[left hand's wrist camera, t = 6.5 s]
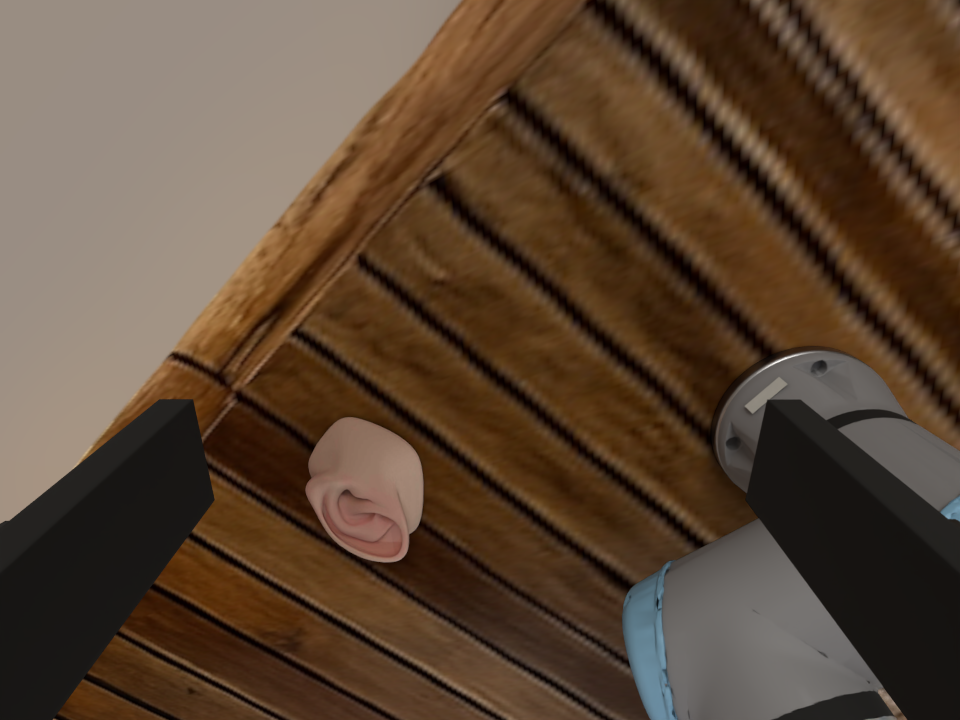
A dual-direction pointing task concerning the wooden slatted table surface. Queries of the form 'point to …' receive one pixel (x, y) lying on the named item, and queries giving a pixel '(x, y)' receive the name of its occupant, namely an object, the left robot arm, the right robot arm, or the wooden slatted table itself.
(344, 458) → the anatomical model
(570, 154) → the wooden slatted table surface
